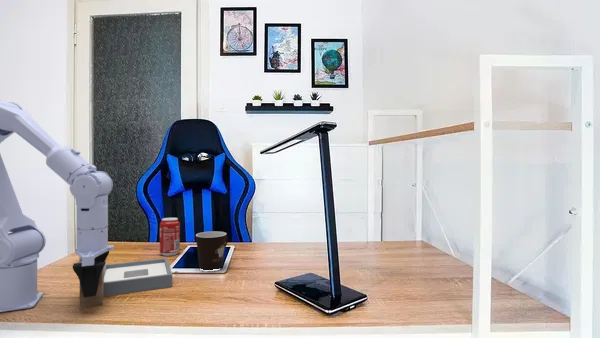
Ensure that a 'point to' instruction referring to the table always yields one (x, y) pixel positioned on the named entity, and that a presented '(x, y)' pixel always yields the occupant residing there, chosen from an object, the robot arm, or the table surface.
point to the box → (136, 276)
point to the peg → (93, 300)
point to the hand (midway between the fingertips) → (92, 290)
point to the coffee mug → (211, 249)
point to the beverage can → (169, 236)
